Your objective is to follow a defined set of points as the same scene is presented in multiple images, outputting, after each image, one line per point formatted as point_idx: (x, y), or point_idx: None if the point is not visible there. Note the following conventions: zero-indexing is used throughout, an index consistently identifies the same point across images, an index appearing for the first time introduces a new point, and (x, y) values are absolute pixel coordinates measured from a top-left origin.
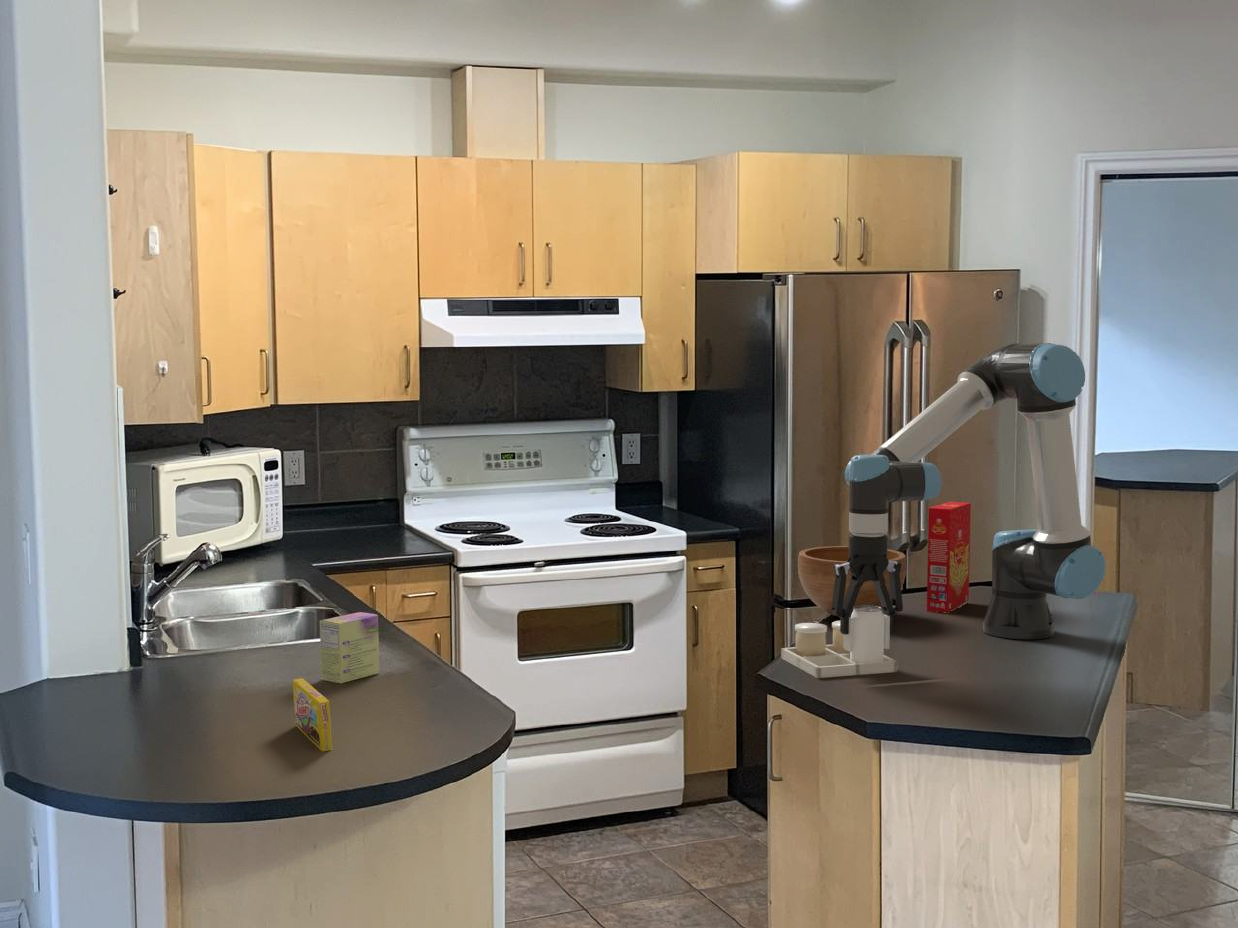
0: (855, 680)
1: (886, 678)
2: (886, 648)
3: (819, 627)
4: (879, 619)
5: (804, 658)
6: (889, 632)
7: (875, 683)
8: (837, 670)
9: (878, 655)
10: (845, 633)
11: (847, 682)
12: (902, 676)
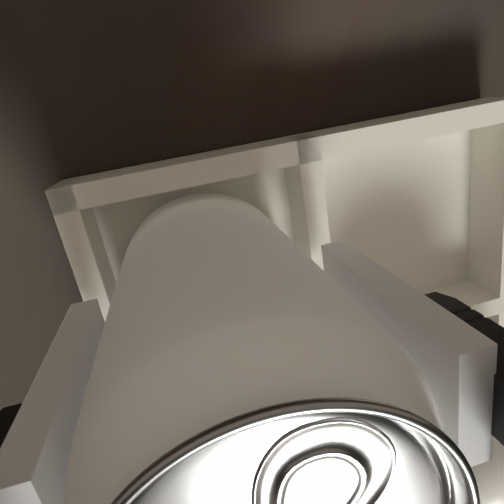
0: (320, 63)
1: (149, 80)
2: (92, 299)
3: (489, 479)
4: (165, 337)
5: (491, 297)
6: (41, 367)
7: None
8: (409, 116)
9: (167, 218)
10: (430, 295)
11: (370, 27)
12: (46, 113)
